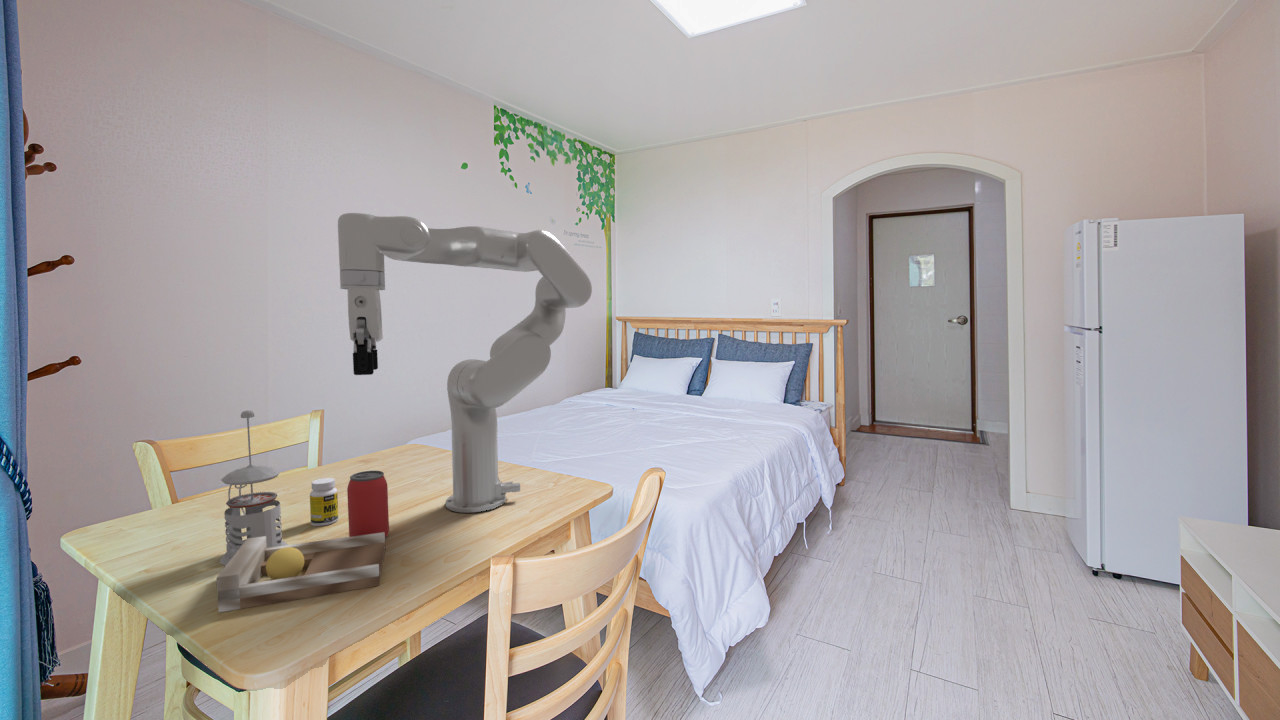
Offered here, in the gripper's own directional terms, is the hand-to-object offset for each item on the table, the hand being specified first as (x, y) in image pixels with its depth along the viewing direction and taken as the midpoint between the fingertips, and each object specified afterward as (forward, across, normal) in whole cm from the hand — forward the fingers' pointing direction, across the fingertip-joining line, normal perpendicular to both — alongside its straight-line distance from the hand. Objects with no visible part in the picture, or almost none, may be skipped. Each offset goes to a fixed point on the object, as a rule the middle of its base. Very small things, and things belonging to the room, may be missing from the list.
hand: (366, 372), depth 102 cm
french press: (+31, -5, +18) cm, 36 cm away
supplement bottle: (+31, +6, +9) cm, 32 cm away
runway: (+30, -19, +7) cm, 36 cm away
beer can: (+31, -6, 0) cm, 31 cm away
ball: (+28, -19, +10) cm, 35 cm away
